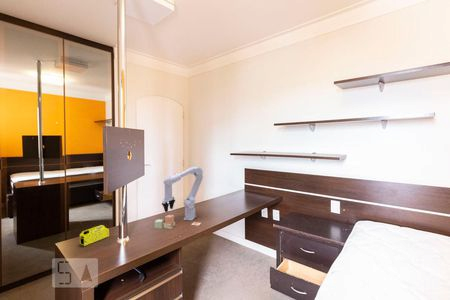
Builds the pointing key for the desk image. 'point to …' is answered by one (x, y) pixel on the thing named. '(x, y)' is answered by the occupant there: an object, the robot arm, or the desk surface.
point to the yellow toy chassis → (93, 235)
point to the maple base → (169, 225)
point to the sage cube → (159, 223)
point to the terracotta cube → (169, 219)
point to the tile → (196, 223)
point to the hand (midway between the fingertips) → (168, 210)
